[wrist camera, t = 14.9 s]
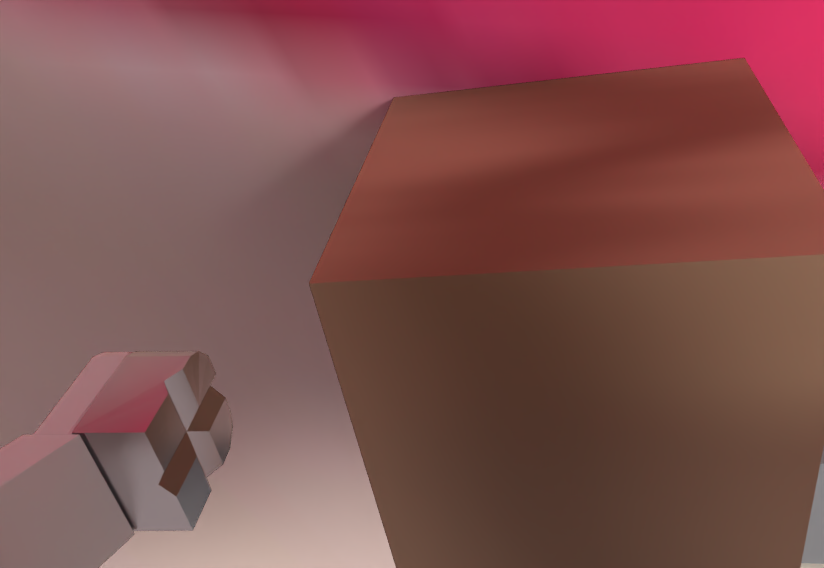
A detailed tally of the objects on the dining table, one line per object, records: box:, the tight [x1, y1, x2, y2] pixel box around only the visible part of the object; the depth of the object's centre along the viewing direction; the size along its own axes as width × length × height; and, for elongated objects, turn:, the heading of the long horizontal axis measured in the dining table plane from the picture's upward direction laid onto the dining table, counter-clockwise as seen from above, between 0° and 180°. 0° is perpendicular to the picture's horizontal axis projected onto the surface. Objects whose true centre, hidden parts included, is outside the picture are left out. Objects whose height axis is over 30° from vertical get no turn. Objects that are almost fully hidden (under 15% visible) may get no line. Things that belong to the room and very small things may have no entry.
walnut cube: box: [309, 58, 824, 568], centre depth 10 cm, size 5×5×5 cm
